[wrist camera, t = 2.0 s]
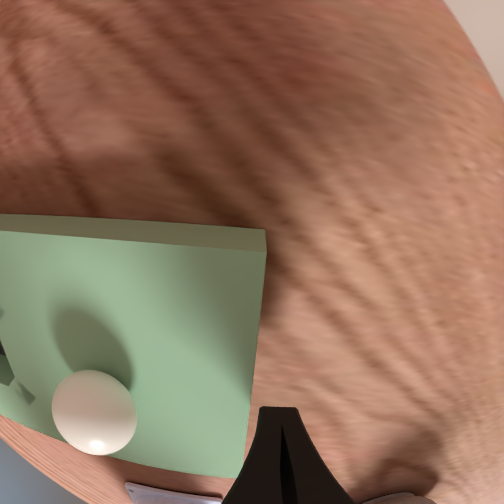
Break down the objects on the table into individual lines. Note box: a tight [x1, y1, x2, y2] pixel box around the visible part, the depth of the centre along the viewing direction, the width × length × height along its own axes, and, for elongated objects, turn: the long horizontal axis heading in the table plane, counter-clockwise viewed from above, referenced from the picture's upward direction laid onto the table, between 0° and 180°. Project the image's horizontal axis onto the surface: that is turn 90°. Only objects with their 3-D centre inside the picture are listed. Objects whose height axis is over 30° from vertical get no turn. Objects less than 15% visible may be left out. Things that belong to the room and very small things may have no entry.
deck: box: [0, 214, 267, 478], centre depth 13 cm, size 13×20×2 cm, turn 85°
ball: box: [52, 370, 137, 455], centre depth 10 cm, size 4×4×4 cm
